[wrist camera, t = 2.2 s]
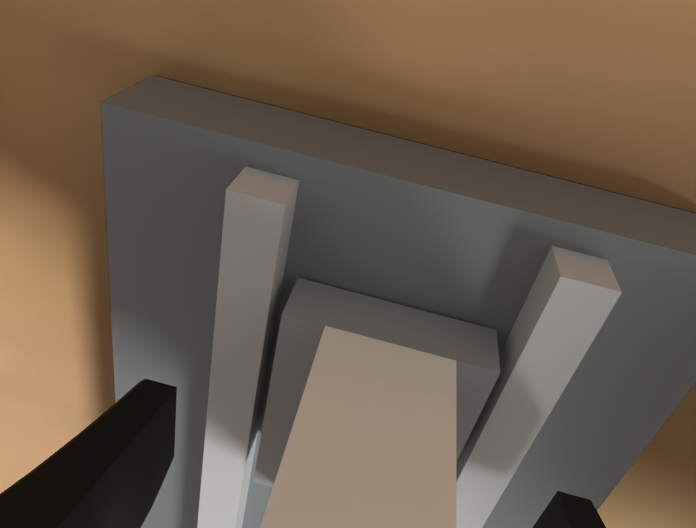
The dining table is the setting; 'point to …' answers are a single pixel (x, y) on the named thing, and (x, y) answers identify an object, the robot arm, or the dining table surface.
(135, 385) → the robot arm
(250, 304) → the fader console
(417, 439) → the fader tab
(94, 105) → the dining table surface
